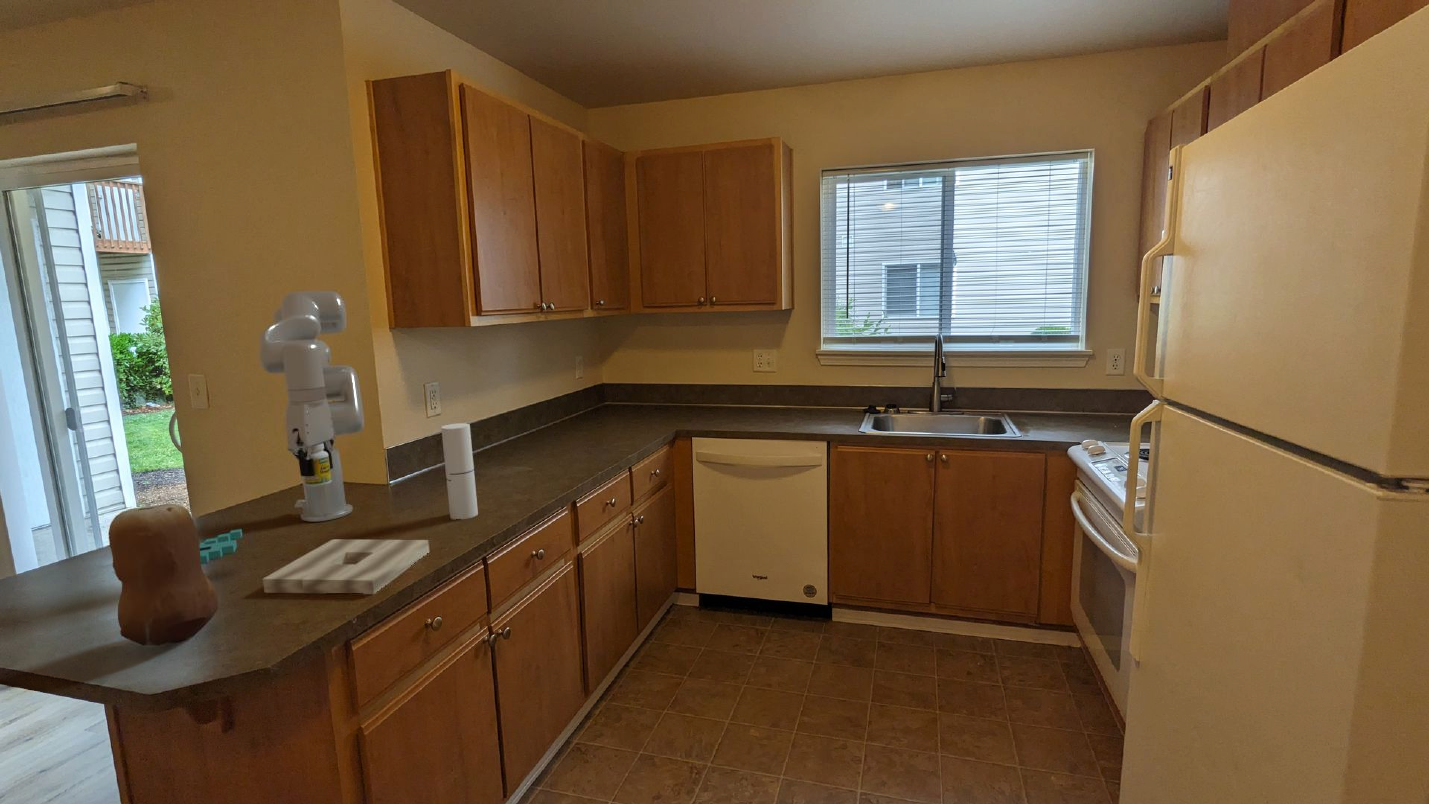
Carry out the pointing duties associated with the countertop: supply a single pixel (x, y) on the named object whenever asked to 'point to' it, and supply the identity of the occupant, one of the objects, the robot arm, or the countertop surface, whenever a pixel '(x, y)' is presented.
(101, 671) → the countertop surface
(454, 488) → the cylindrical container
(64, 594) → the countertop surface
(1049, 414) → the countertop surface
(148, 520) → the butternut squash
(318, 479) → the supplement bottle
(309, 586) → the socket board
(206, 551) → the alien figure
